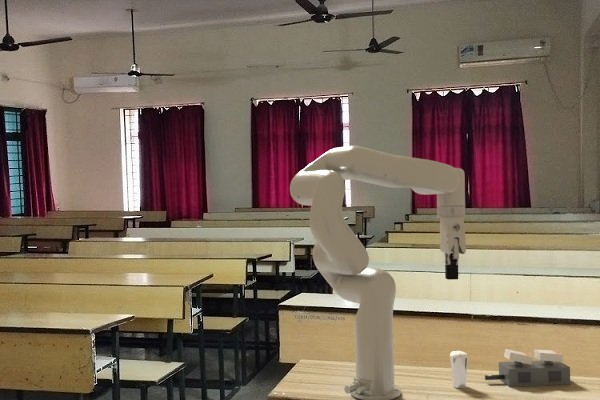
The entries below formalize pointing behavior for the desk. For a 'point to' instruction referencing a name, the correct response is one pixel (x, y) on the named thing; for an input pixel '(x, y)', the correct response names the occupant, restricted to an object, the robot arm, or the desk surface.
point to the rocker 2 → (548, 355)
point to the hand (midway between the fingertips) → (451, 278)
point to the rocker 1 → (518, 356)
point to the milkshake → (459, 368)
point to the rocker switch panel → (532, 373)
